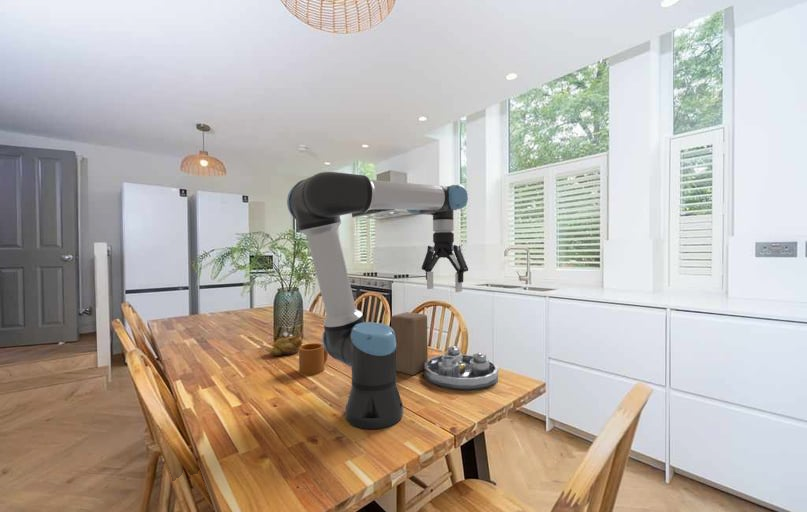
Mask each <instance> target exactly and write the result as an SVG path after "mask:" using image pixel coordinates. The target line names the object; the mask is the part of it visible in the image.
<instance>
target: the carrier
mask: <svg viewBox="0 0 807 512" xmlns="http://www.w3.org/2000/svg"><path fill="white" fill-rule="evenodd" d="M444 356H453V357H455V358H456V362H458V363H459V378H455V377H448V376H443V375H440V374H438V363H439V362H442V357H444ZM423 371H424V372H423V374H424V378H425V380H426V381H428V383H430V384H431V385H435V386H437V387H439V388H442V389H447V390H453V391H480V390H484V389H488V388H490V387H492V386H495V384H497V383H498V381H499V367H498V365H497V364H496V362H494V361H491V360H490V359H488V358H487V355H486V354H484V353H481V352H477V353H473V354H472V355H470V354H463V353H462V352H461V349H460V347H457V346H449V347H447V351H446V352H445V353H444V354H442V355H436V356H433V357H431V358H428V360H427V361H426V362H425V369H424V370H423Z"/></svg>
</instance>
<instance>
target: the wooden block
mask: <svg viewBox="0 0 807 512" xmlns="http://www.w3.org/2000/svg"><path fill="white" fill-rule="evenodd" d="M390 322H391V324H390V327H391V328H392V329H393V330H394V332H395V338H396V372H399V373H403V374H406V375H410V376H414V375H416V374H419V373H420V372H422V371H424V369H425V362H426V361H427V360H429V356H428V354H429V351H428V346H429V345H428V315H427V314H424V313H417V312H410V311H409V312H408V311H406V312H403V313H399V314H394V315H392V316H391V317H390Z"/></svg>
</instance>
